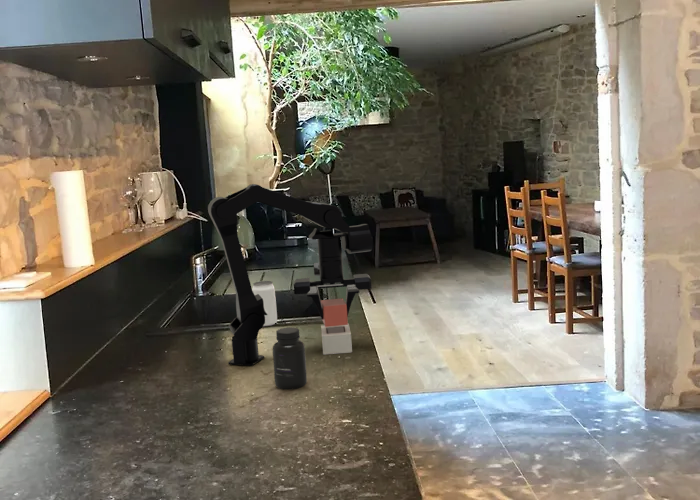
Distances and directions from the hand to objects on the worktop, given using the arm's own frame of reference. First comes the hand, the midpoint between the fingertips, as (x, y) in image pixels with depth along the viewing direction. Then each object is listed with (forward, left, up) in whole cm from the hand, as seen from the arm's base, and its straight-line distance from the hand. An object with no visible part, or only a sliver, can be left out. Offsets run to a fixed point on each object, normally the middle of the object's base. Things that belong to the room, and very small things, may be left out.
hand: (334, 318), depth 170 cm
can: (+18, +29, -8) cm, 35 cm away
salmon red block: (0, 0, -1) cm, 1 cm away
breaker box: (0, 0, -8) cm, 8 cm away
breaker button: (0, 0, -6) cm, 6 cm away
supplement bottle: (-26, -1, -8) cm, 27 cm away
